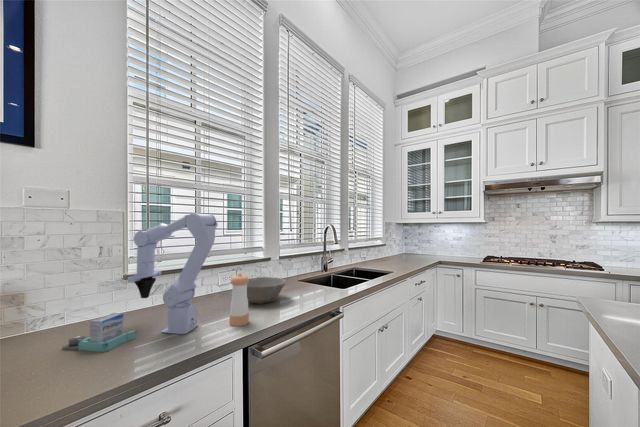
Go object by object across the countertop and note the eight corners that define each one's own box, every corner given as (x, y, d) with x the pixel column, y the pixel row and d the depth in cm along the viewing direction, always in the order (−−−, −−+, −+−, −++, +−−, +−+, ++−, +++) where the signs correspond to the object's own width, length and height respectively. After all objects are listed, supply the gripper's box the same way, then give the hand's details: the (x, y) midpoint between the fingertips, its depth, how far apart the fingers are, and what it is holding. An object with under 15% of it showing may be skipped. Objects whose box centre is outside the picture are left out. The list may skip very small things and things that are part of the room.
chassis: (136, 337, 92) (137, 328, 92) (106, 353, 81) (107, 342, 81) (96, 334, 94) (97, 325, 94) (62, 349, 83) (62, 338, 83)
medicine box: (100, 350, 83) (101, 321, 83) (88, 348, 84) (89, 320, 84) (123, 339, 91) (124, 313, 91) (112, 338, 92) (112, 312, 92)
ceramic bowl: (229, 303, 132) (230, 282, 133) (264, 293, 151) (264, 275, 151) (261, 311, 120) (261, 289, 120) (294, 299, 138) (294, 280, 139)
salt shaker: (252, 322, 107) (253, 273, 107) (235, 327, 101) (236, 276, 102) (242, 318, 112) (243, 271, 112) (225, 322, 106) (226, 273, 107)
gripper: (150, 259, 112) (149, 292, 111) (120, 264, 97) (119, 302, 97) (166, 259, 111) (165, 293, 110) (138, 265, 96) (136, 303, 96)
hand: (144, 297), depth 103 cm, fingers closed
